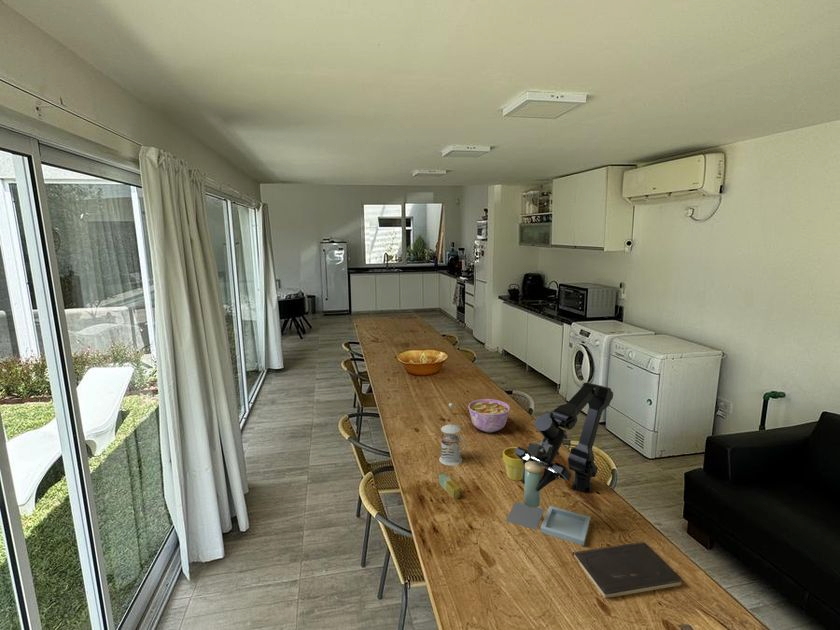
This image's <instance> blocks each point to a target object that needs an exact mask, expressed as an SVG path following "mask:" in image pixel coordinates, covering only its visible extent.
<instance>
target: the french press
mask: <svg viewBox="0 0 840 630" xmlns="http://www.w3.org/2000/svg"><path fill="white" fill-rule="evenodd" d="M448 407H450V408H453V407H454V404H453V403H451V402H450V403H448ZM440 431H441V432H442V433H444V436H442V440H441V456H439V459H438V460H439V462H440V463H441V464H443V465H445V466H451V467H452V466H458V465H460V464H461V463H462V462H463V458H462V457H461V452H462V451H464V450H465V449H466V446H467V444H464V446H463V448H462V449H461V441H460V438H461V440H462V441H463V443H465V442H467V440H466V438H465V436H464V434H462V433H460V431H461V428H460V426H458V425H456V424H452V423H449V424H446V425H443V426H442V427H441V428H440ZM458 433H459V434H458ZM457 434H458V435H457ZM461 435H462V436H461ZM463 438H464V439H463Z"/></svg>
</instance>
